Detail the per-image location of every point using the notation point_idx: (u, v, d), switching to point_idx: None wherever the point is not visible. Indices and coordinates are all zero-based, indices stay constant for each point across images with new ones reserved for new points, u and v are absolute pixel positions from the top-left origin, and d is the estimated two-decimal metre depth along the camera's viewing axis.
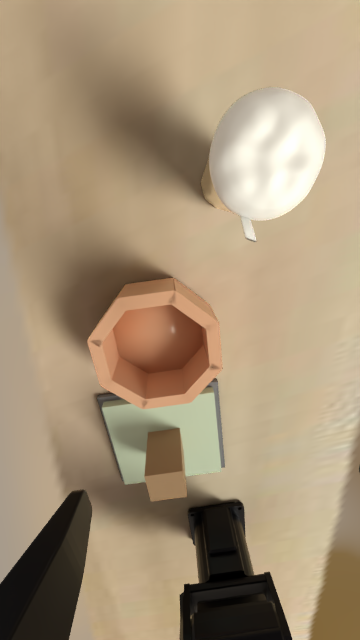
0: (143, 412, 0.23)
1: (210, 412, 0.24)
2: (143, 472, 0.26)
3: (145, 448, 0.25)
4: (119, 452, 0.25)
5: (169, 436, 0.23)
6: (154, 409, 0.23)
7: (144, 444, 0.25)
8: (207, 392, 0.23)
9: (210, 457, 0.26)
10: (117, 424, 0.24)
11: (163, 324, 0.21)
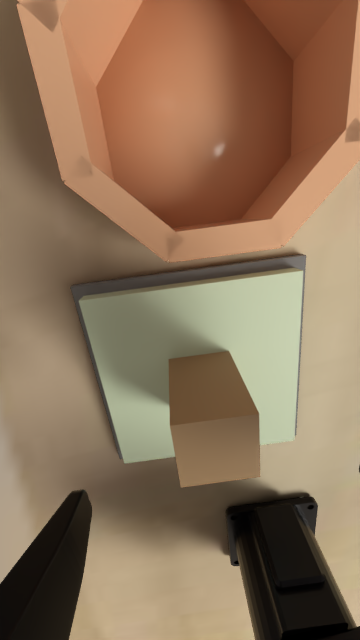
0: (162, 315, 0.12)
1: (291, 318, 0.12)
2: (157, 440, 0.15)
3: (162, 393, 0.13)
4: (114, 400, 0.13)
5: (212, 362, 0.12)
6: (183, 307, 0.12)
7: (161, 384, 0.13)
8: None
9: (278, 413, 0.14)
10: (110, 341, 0.12)
11: (210, 95, 0.09)
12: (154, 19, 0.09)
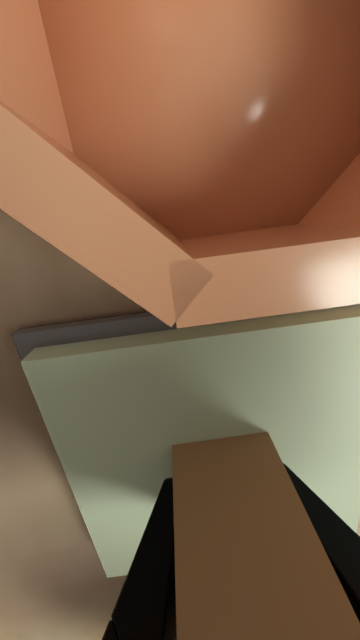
0: (161, 382, 0.07)
1: None
2: None
3: None
4: (88, 501, 0.09)
5: (244, 460, 0.07)
6: (196, 370, 0.07)
7: (160, 479, 0.08)
8: None
9: (335, 511, 0.10)
10: (78, 421, 0.07)
11: None
12: None
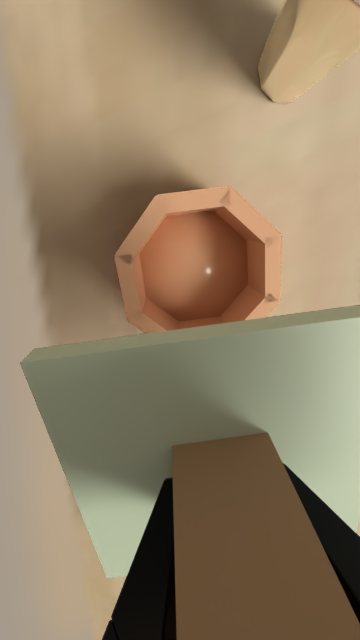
0: (161, 382, 0.07)
1: None
2: None
3: None
4: (88, 502, 0.09)
5: (244, 461, 0.07)
6: (196, 371, 0.07)
7: (160, 480, 0.08)
8: None
9: (335, 512, 0.10)
10: (78, 422, 0.07)
11: (201, 256, 0.17)
12: (171, 224, 0.16)
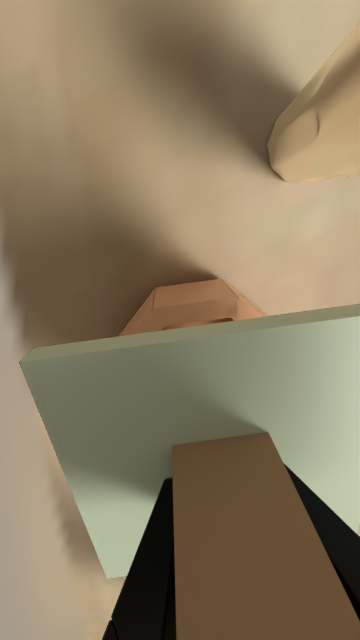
0: (161, 381, 0.07)
1: None
2: None
3: None
4: (87, 502, 0.09)
5: (245, 460, 0.07)
6: (196, 370, 0.07)
7: (160, 480, 0.08)
8: None
9: (336, 512, 0.10)
10: (78, 421, 0.07)
11: None
12: None
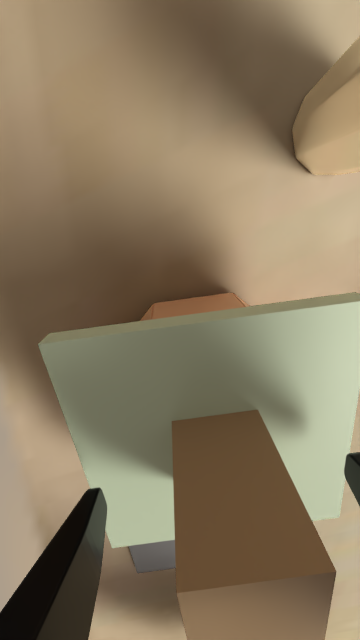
0: (162, 363, 0.08)
1: (349, 365, 0.08)
2: (156, 521, 0.11)
3: (163, 464, 0.10)
4: (96, 474, 0.10)
5: (236, 432, 0.08)
6: (193, 352, 0.08)
7: (161, 453, 0.09)
8: (351, 301, 0.08)
9: (321, 485, 0.10)
10: (88, 398, 0.08)
11: None
12: None
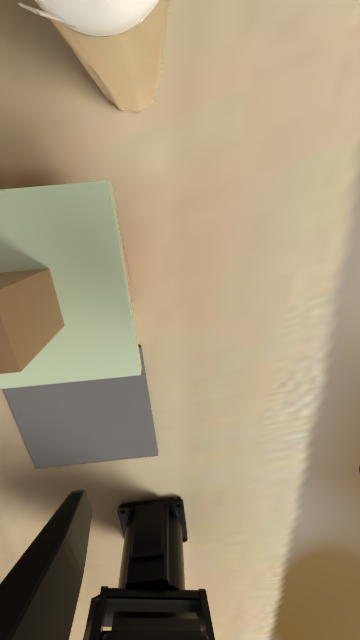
0: None
1: (107, 234, 0.12)
2: None
3: None
4: None
5: (19, 274, 0.12)
6: None
7: None
8: (96, 182, 0.11)
9: (117, 343, 0.14)
10: None
11: None
12: None
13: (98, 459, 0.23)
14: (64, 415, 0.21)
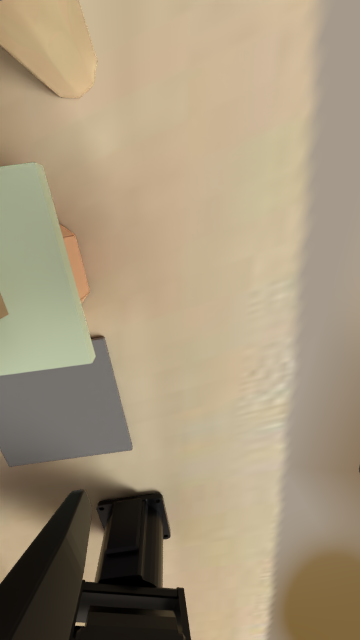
0: None
1: (40, 218, 0.12)
2: None
3: None
4: None
5: None
6: None
7: None
8: (23, 165, 0.11)
9: (64, 330, 0.14)
10: None
11: None
12: None
13: (72, 455, 0.23)
14: (33, 411, 0.21)
